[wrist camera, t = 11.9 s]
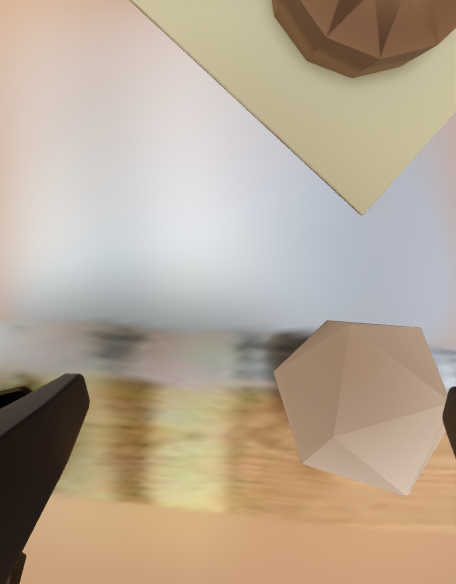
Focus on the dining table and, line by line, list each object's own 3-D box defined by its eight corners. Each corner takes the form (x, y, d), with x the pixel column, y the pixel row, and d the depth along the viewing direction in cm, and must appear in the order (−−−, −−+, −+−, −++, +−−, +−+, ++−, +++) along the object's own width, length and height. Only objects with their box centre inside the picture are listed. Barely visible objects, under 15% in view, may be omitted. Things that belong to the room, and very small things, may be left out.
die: (366, 425, 25) (529, 452, 17) (270, 486, 21) (423, 563, 13) (330, 313, 26) (470, 285, 17) (229, 351, 21) (350, 338, 13)
